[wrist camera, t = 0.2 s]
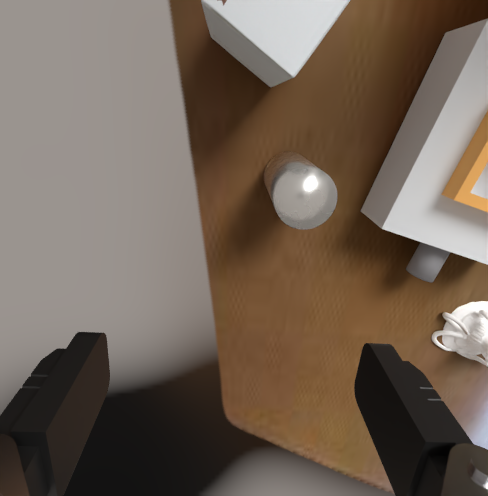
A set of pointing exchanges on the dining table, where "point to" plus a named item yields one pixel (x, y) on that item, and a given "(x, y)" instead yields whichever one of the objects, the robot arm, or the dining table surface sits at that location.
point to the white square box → (441, 159)
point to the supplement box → (271, 32)
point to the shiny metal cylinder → (299, 190)
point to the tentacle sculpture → (466, 331)
